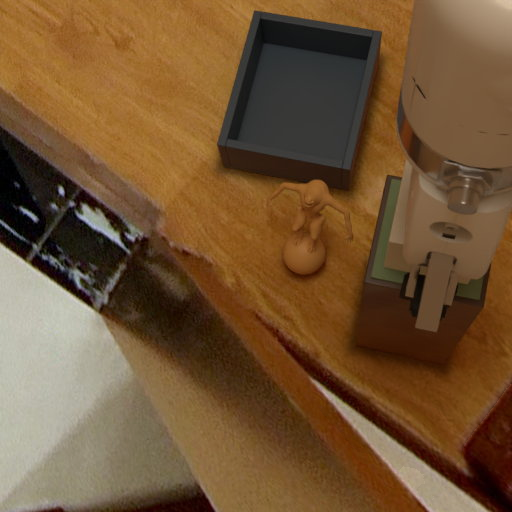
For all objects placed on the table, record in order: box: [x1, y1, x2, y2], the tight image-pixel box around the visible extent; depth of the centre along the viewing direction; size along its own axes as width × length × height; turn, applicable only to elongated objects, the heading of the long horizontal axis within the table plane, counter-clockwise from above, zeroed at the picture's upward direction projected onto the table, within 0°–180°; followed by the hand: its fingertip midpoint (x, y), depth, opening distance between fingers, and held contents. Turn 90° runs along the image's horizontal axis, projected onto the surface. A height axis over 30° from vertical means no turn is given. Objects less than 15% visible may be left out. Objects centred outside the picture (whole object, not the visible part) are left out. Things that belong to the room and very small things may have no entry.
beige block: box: [384, 158, 470, 284], centre depth 55 cm, size 6×6×6 cm
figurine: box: [266, 180, 354, 276], centre depth 76 cm, size 8×6×12 cm
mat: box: [371, 179, 484, 300], centre depth 58 cm, size 7×7×1 cm
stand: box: [355, 174, 493, 366], centre depth 68 cm, size 8×8×22 cm
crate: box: [216, 9, 383, 192], centre depth 83 cm, size 13×15×5 cm
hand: (437, 229), depth 56 cm, fingers open, 9 cm apart
